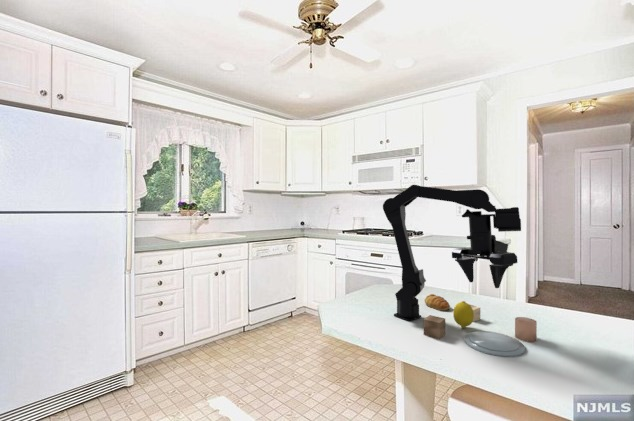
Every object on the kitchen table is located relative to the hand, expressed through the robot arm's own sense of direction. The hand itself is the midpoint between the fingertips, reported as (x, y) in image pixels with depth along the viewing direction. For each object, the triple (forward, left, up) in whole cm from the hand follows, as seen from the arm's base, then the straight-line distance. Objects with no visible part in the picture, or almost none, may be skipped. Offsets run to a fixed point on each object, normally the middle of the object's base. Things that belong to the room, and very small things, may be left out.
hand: (483, 284), depth 96 cm
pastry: (-21, +7, -13) cm, 26 cm away
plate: (+7, -8, -13) cm, 17 cm away
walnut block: (-6, -15, -13) cm, 21 cm away
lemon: (-4, -4, -13) cm, 14 cm away
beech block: (-8, +5, -13) cm, 16 cm away
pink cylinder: (+10, +3, -13) cm, 17 cm away
